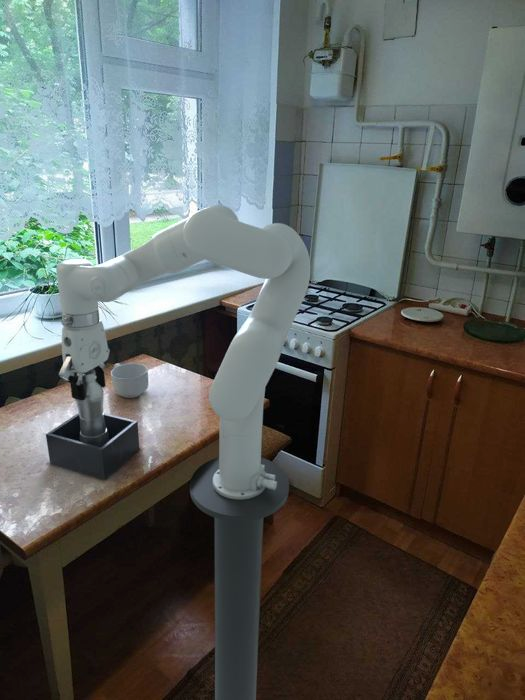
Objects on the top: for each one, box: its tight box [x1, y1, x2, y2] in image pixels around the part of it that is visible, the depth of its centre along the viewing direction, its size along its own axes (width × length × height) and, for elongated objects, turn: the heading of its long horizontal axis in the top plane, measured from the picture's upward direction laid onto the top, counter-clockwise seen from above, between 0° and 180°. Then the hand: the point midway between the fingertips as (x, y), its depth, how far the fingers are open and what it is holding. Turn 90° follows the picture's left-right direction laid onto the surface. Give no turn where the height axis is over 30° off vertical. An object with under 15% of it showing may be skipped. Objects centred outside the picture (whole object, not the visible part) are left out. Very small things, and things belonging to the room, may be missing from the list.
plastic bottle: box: [74, 369, 109, 447], centre depth 115 cm, size 6×7×20 cm
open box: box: [45, 412, 140, 481], centre depth 118 cm, size 16×14×8 cm
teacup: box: [110, 362, 149, 399], centre depth 150 cm, size 14×11×8 cm
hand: (89, 391), depth 113 cm, fingers closed on plastic bottle, 6 cm apart
